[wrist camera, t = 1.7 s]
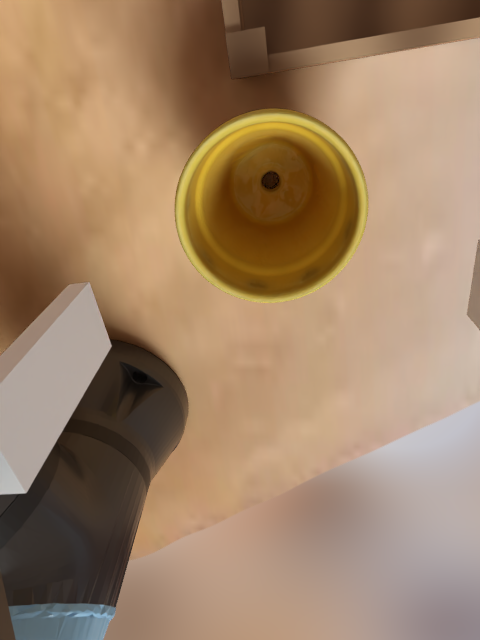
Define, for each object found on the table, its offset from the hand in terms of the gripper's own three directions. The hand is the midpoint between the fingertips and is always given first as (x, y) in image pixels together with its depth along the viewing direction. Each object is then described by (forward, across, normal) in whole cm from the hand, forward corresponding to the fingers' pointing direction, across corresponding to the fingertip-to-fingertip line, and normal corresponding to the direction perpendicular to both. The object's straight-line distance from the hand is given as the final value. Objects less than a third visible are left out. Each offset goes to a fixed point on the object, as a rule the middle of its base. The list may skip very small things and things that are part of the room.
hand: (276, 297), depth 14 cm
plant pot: (+19, 0, 0) cm, 19 cm away
